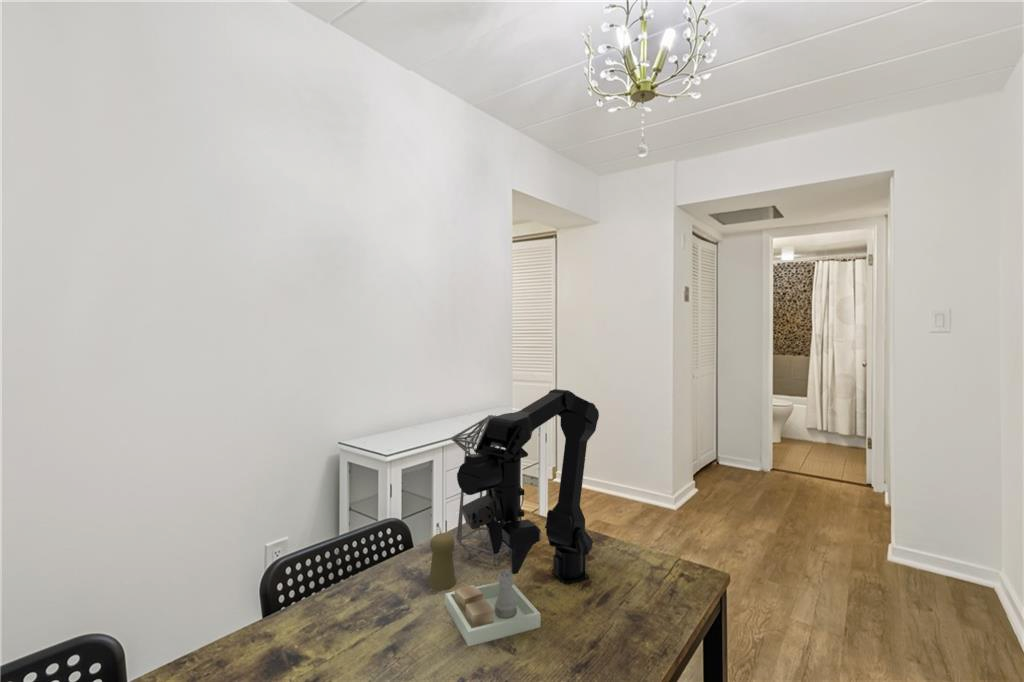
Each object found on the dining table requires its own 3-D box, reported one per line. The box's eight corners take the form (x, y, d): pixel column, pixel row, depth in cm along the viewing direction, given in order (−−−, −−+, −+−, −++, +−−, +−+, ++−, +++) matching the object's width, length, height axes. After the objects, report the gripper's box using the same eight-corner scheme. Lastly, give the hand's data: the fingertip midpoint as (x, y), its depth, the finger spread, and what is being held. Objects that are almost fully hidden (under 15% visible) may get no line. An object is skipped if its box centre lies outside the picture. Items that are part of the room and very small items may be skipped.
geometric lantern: (445, 563, 118) (446, 416, 119) (481, 541, 132) (482, 409, 132) (502, 579, 110) (503, 421, 111) (534, 554, 124) (535, 413, 125)
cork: (450, 594, 104) (451, 542, 104) (423, 591, 105) (424, 539, 105) (459, 580, 110) (460, 531, 110) (433, 577, 111) (434, 529, 111)
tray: (509, 594, 104) (509, 579, 104) (540, 630, 92) (540, 613, 92) (445, 608, 99) (445, 593, 99) (468, 649, 86) (468, 632, 86)
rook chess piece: (520, 608, 98) (520, 568, 98) (512, 620, 94) (512, 578, 93) (498, 604, 99) (499, 564, 99) (490, 616, 95) (490, 574, 95)
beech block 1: (472, 604, 99) (472, 584, 99) (482, 613, 96) (482, 593, 96) (454, 610, 97) (454, 590, 97) (464, 620, 94) (464, 599, 94)
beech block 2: (485, 620, 94) (485, 599, 94) (493, 632, 90) (493, 610, 90) (465, 625, 92) (465, 604, 92) (472, 637, 88) (472, 615, 88)
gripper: (451, 474, 101) (450, 551, 101) (484, 503, 84) (483, 594, 84) (501, 469, 106) (500, 542, 106) (542, 495, 89) (541, 582, 89)
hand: (505, 563), depth 96 cm, fingers open, 9 cm apart
